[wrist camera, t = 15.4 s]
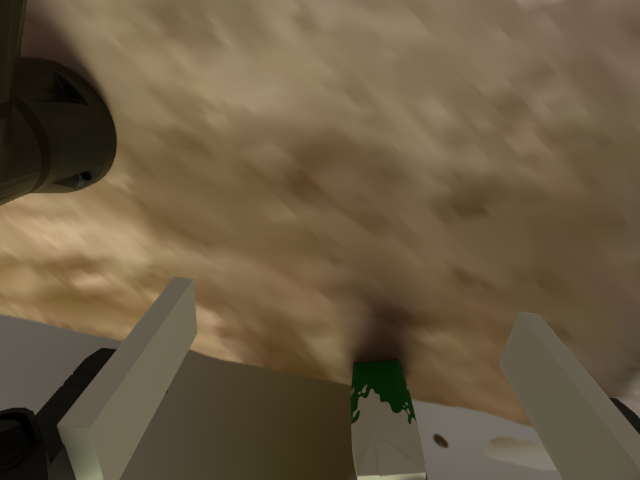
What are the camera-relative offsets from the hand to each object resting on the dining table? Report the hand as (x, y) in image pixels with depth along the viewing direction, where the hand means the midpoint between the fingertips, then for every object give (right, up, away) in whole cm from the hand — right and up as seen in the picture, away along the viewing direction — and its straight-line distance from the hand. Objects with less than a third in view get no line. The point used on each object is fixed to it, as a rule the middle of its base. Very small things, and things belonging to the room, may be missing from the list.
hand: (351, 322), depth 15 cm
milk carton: (+8, -19, +44) cm, 48 cm away
